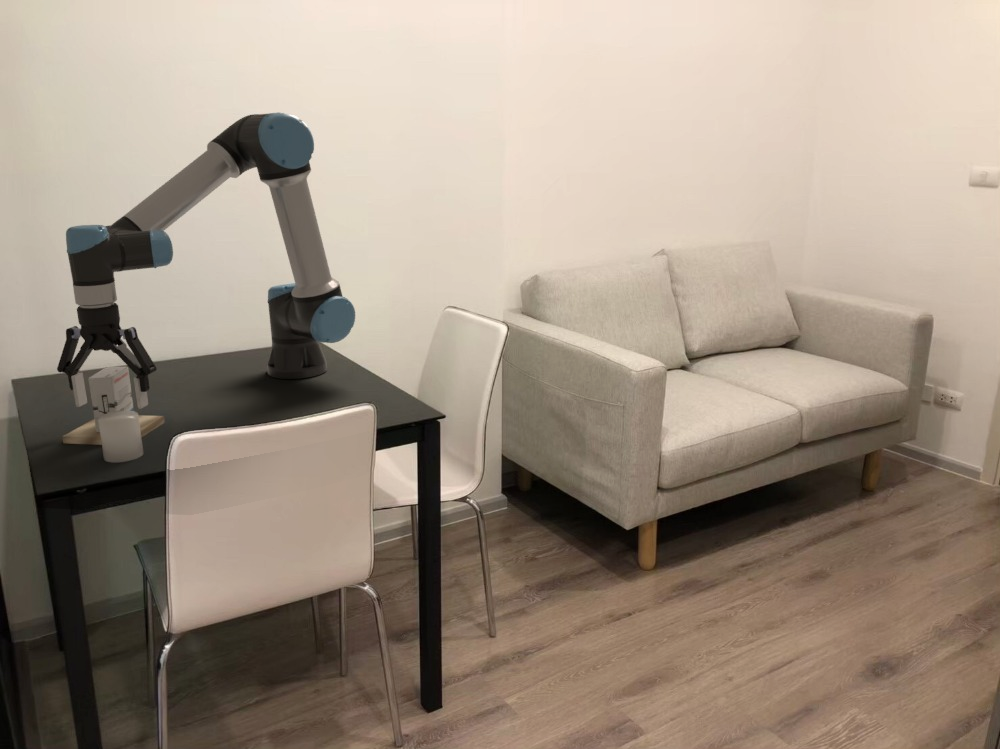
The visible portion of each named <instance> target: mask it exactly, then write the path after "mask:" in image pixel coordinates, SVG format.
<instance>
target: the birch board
mask: <svg viewBox="0 0 1000 749" xmlns="http://www.w3.org/2000/svg"><path fill="white" fill-rule="evenodd" d="M138 417H139V424H140V431H141V438H143V437H145V436H146V435H148V434H150V433H151V432H152V431H154V430H156V429H157V428H158V427H161V426H162V425H163V424H165V416H164V415H145V414H144V415H143V414H142V415H139V414H138ZM62 442H63V444H70V445H71V444H72V445H73V444H74V445H93V446H94V445H95V446H96V445H97V446H102V442H101V436H100V432H96V426H95V419H94V418H93V419H91V420H90V421H88V422H86V423H84V424H83V425H81V426H79V427H76V428H75V429H73V430H71V431H70V432H68V433H66V434H63V435H62Z"/></svg>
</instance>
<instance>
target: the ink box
mask: <svg viewBox="0 0 1000 749" xmlns="http://www.w3.org/2000/svg"><path fill="white" fill-rule="evenodd" d="M130 377H131V376H130V370H129V367H128V366H109V367H106V366H105V367H104V368H103V369H101V370H99V371H98V372H96V373H94V374H93V375H91V376H89V377H88V386H89V393H90V398H91V399H90V400H91V403H92V404H91V405H92V410H93V411H92V412H93V419H95V426H96V432H100V429H99V422H98V418H99V417H100V416H102V415H104V414H107V413H111V412H116V411H135V410H134V401H133V395H132V385H131V378H130Z"/></svg>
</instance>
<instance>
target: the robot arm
mask: <svg viewBox="0 0 1000 749" xmlns="http://www.w3.org/2000/svg"><path fill="white" fill-rule="evenodd" d="M314 140H315V139H314V137H313V134H312V132H311V130H310V128H309V127H308V125H307V123H306V122H304V121H303V120H302V119H301V118H299V117H297V116H296V115H293V114H290V113H284V112H272V113H271V112H269V113H259V114H257V113H255V114H248V115H246V116H245V115H244V116H243V117H241V118H240V119H238V120H237V121H235V122H234V123H232V124H230V126H228V127H226V128H225V129H224V130H223V131H221V133H220V134H218V135H217V136H215V137H214V138H213V139H212V140H210V141H209V142H208V143H207V144H206V150H205V151H204V152H203V153H202V154H200V156H198V157H196V158H195V159H194V160H193V161H191V162H189V164H188V165H186V166H185V167H184V168H183V169H182V170H180V171H179V172H178V173H176V174H175V175H174V176H173V177H171V178H170V179H169V180H166V182H165V183H163V184H162V185H161V186H159V187H158V188H157V189H156V190H155V191H153V192H152V193H150V194H149V195H148V196H147V197H145V198H144V199H143V200H142V201H141V202H138V204H137V205H136V206H134V207H132V209H130V210H129V211H128V212H126V213H125V214H124V215H123V216H121V217H119V219H117V220H116V221H115V222H113V223H112V224H110V225H103V224H81V225H74V226H70V227H68V228H67V229H66V231H65V241H66V254H67V256H68V263H69V267H70V274H71V279H72V287H73V295H74V302H75V304H76V305H77V306H78V307H77V308H76V313H77V320H78V324H79V325H80V327H78V326H77V325H74V326H71V327H69V328H66V330H65V338H66V339H65V341H64V342H65V343H64V346H63V349H62V352H61V356H60V359H59V361H58V365H57V368H56V370H57V372H58V373H63V374H66V375H67V378H68V385H69V389H70V391H73V397H74V403H75V407H78V408H79V407H82V406H85V405H86V404H87V403H88V399H87V392H86V386H85V385H86V384H85V379H84V373H83V372H80V371H81V368H82V367H83V366H84V363H85V362H86V361H87V359H88V358H89V356H90V355H91V353H92V351H104V352H107V351H108V352H109V351H111V352H112V353H113V354H116V355H117V356H118V357H119V358H120V359H121V360H122V362H124V364H125V365H126V367H128V369H130V370H131V371H132V372H133V373H134V374H135V375H136V376H134V377H133V382H134V383H133V384H134V389H135V397H136V402H137V403H136V405H137V409H139V410H140V409H143V408H145V407H147V406H149V399H148V391H150V388H151V387H150V380H149V375H151V374H152V373H154V372H156V371H157V367H156V366H157V365H155V363H154V361H153V360H152V358H151V357H150V354H149V353H148V351H147V349H146V348H145V347H144V345H143V343H142V341H141V340H140V339H139V336H138V333H137V328H136V327H135V326H132V327H129V328H123V329H122V327H121V326H120V322H121V316H120V310H119V305H118V304H117V303H116V302H117V300H118V296H117V291H116V282H115V281H116V280H115V273H116V272H117V273H118V272H123V271H126V272H127V271H135V270H143V269H156V268H160V267H166V266H168V265H170V263H172V260H173V257H174V248H173V243H172V241H171V238H170V236H169V234H168V233H167V232H166V231H165V230H167V229H169V227H171V226H172V225H173V224H174V223H175V222H177V221H178V220H179V219H180V218H182V217H183V216H184V215H186V214H187V213H188V212H189V211H190V210H191V209H192V208H194V207H195V206H196V205H198V204H199V203H200V202H201V201H203V200H204V199H205V198H206V197H207V196H209V195H210V194H211V193H213V192H214V191H215V190H217V188H219V187H220V186H222V185H223V184H224V183H225V182H226V181H227V180H229V179H230V178H233V179H237V178H238V177H240V176H241V175H242V174H243V173H245V172H247V171H249V170H251V169H254V168H256V171H257V173H258V177H259V180H260V182H262V183H264V184H265V185H267V186H268V187H269V191H270V195H271V199H272V202H273V206H274V210H275V213H276V217H277V221H278V224H279V228H280V232H281V236H282V238H283V242H284V246H285V250H286V253H287V257H288V261H289V265H290V268H291V272H292V276H293V280H294V282H293V283H285V284H278V285H274V286H270V287H269V288H268V291H267V304H268V315H269V324H270V326H269V327H270V334H271V348H270V352H269V354H268V360H267V365H266V370H267V375H268V376H270V377H272V378H274V379H282V380H283V379H284V380H285V379H286V380H296V379H306V378H311V377H316V376H319V375H321V374H324V373H326V371H327V370H328V364H327V359H326V356H325V354H324V352H323V349H322V347H321V345H320V343H327V344H335V343H338V342H340V341H342V340H344V339H345V338H347V337H348V335H349V334H350V332H351V330H352V328H354V325H355V322H356V309H355V307H354V304H353V303H352V302H351V301H350V300H349V299H348V298H346V297H345V296H343V292H342V289H341V284H340V282H339V280H337V279H335V278H334V277H332V275H331V271H330V267H329V264H328V263H329V262H328V259H327V254H326V251H325V248H324V243H323V239H322V236H321V235H322V234H321V232H320V228H319V223H318V219H317V215H316V211H315V208H314V204H313V203H314V202H313V199H312V195H311V191H310V188H309V182H308V177H309V175H310V173H311V172H312V168H311V164H310V160H311V159H312V158H313V157H312V154H314V151H315V142H314ZM80 338H82V339H83V340H84V341H83V343H82V345H81V346H80V350H79V351H78V353H76V356H75V357H74V355H75V352H76V349H77V347H78V343H79V339H80ZM121 338H122V339H121ZM123 340H125V341H126V342H125V341H123ZM127 345H128V347H129V348H128V347H127Z"/></svg>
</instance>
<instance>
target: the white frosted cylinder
mask: <svg viewBox="0 0 1000 749" xmlns="http://www.w3.org/2000/svg"><path fill="white" fill-rule="evenodd" d="M138 415H139V413H138V412H137V411H135V410H134V411H116V412H111V413H107V414H104V415H102V416H100V417H99V418H98V422H99V429H100V436H101V442H102V445H101V447H102V454H103V460H104V461H105V462H108V463H125V462H130V461H133V460H136V459H139V458H141V457H142V456H143V455H144V448H143V447H144V446H143V439H142V438H143V437H142V438H141V431H140V424H139V417H138Z"/></svg>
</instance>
